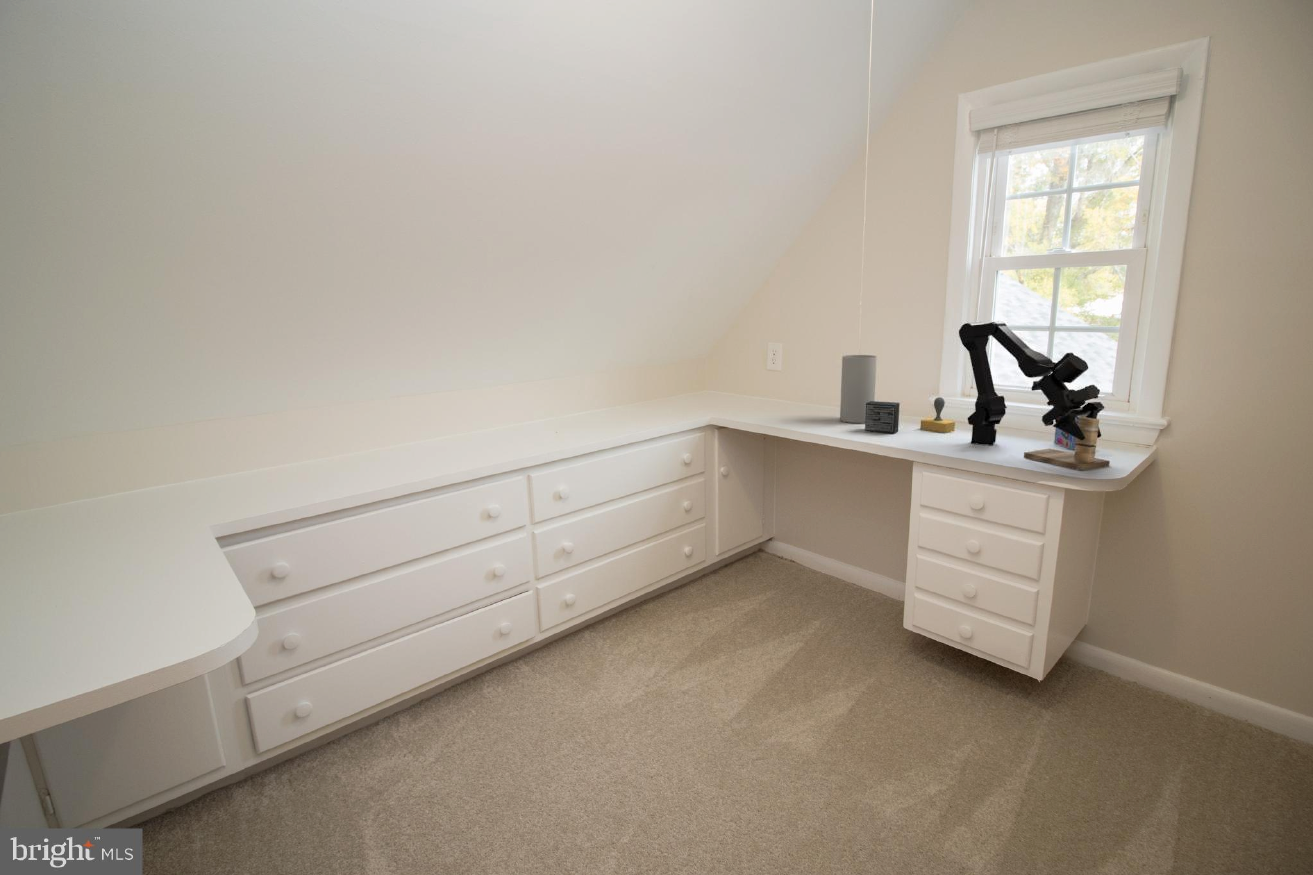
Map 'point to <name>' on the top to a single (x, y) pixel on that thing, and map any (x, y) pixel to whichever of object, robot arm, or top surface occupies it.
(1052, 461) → the stand
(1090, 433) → the stub
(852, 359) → the cylinder vase
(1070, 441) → the ink cartridge box
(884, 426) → the small box
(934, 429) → the rubber stamp
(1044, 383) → the robot arm
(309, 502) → the top surface
